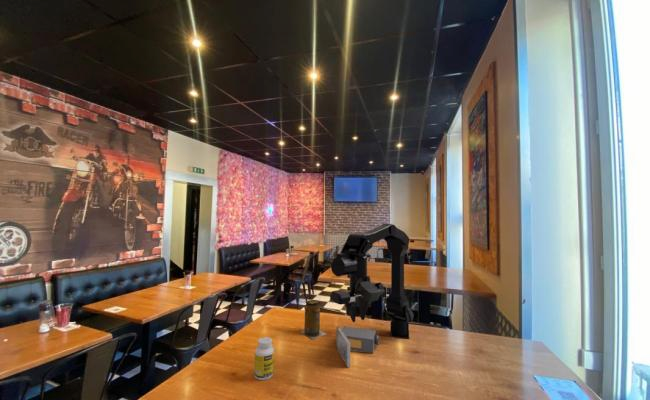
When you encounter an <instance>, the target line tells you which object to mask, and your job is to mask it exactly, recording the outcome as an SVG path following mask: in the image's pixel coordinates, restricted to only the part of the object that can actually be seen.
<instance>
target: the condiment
mask: <svg viewBox="0 0 650 400" xmlns="http://www.w3.org/2000/svg"><path fill="white" fill-rule="evenodd" d="M320 318H321V309H320V302H319V300H316V299H309V300H306V301H305V308H304V330H300V331H299V333H301V334H303V336H306V337H308V338H309V339H311V340H312V339H313V340H314V339H317V338H320V337H324V336H325V335H327V333H326V332H324V331H322V330H321V328H320V326H321V325H320V323H321V319H320Z"/></svg>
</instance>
